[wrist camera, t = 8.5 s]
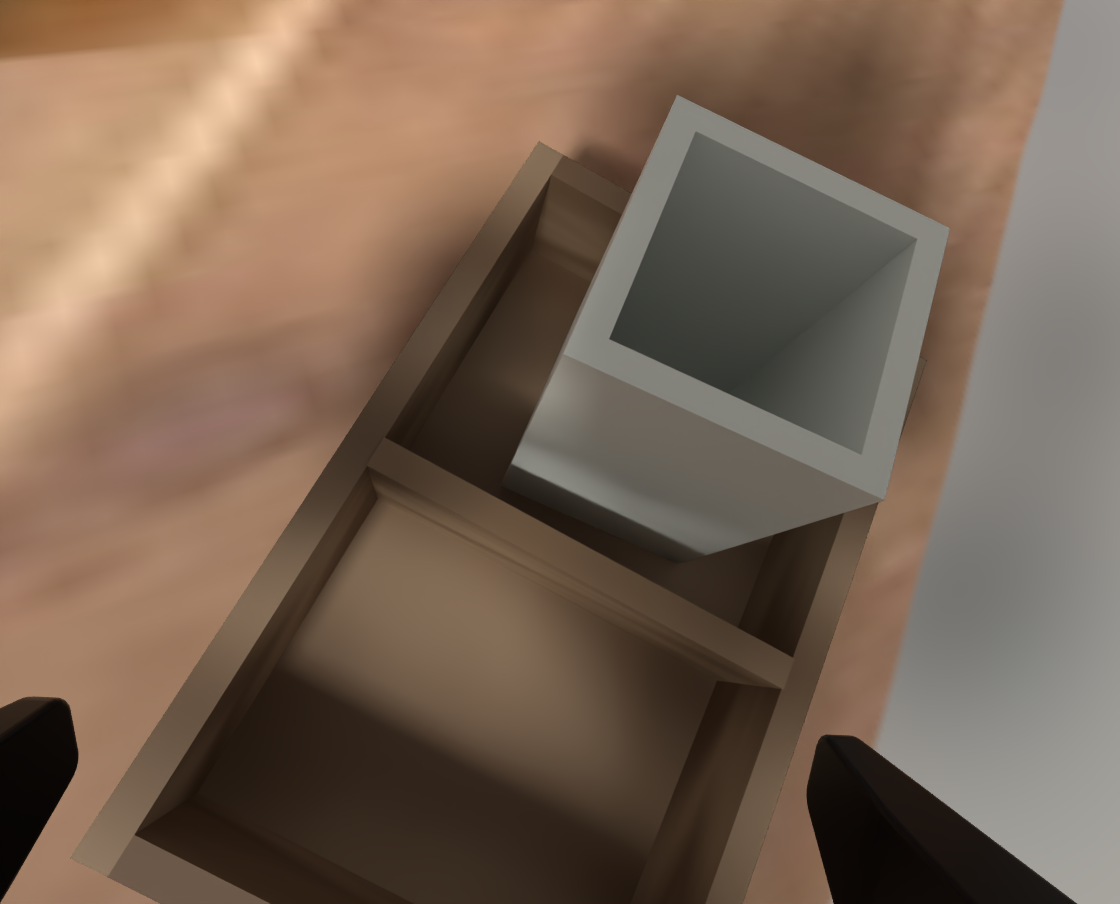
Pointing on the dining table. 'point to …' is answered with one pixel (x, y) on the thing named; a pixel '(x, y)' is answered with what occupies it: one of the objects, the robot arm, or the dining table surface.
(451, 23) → the dining table surface
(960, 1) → the dining table surface
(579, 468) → the box
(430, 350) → the crate
